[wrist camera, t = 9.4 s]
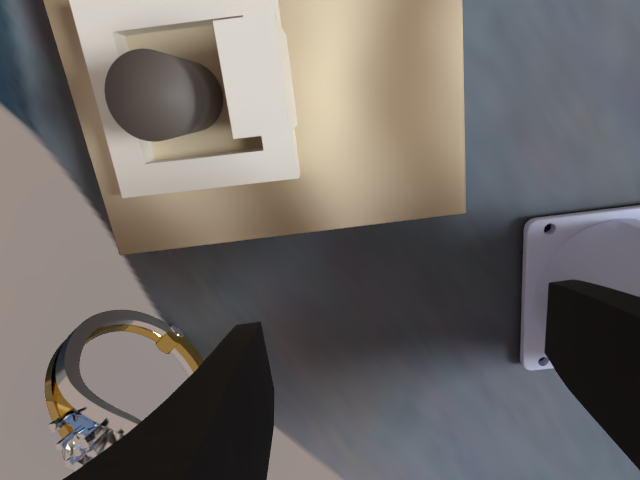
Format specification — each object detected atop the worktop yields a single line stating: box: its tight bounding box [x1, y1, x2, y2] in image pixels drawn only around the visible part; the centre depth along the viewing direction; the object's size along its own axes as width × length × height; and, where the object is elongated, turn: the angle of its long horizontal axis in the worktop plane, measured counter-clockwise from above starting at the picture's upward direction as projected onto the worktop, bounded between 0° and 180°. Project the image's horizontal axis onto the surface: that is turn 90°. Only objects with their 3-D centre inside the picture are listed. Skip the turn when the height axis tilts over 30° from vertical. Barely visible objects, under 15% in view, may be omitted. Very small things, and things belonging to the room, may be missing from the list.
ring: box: [45, 310, 204, 471], centre depth 17 cm, size 7×3×8 cm, turn 44°
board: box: [43, 0, 466, 255], centre depth 14 cm, size 15×16×6 cm
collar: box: [69, 0, 300, 198], centre depth 14 cm, size 7×7×5 cm
